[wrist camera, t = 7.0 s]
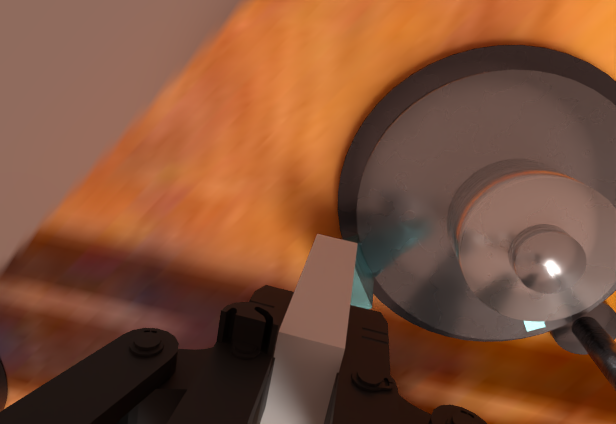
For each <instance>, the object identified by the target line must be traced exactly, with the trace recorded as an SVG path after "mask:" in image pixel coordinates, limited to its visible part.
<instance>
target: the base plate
mask: <svg viewBox="0 0 616 424" xmlns="http://www.w3.org/2000/svg"><path fill="white" fill-rule="evenodd" d="M503 70H534V71H540V72H546V73H551V74H556V75H559V76H562V77H566V78H569V79H572V80H575V81H577V82H579V83H581V84H583V85H585V86H587V87H589V88H592V89H594V90H595V91H597V92H598V93H599V94H601V95H602V96H604V97H605V98H607V99H608V100H610V101H611V102H612V103H613V104H614V105H615V106H616V81H615V80H613V79H612V78H611V77H610V76H609V75H608V74H606V73H604V72H603V71H601V70H599V69H598V68H596V67H594V66H593V65H591V64H590V63H588V62H585V61H583V60H581V59H578V58H576V57H574V56H571V55H569V54H566V53H562V52H558V51H555V50H551V49H547V48H542V47H533V46H525V45H498V46H491V47H484V48H477V49H472V50H469V51H465V52H462V53H458V54H454V55H451V56H449V57H446V58H444V59H442V60H439V61H437V62H434V63H432V64H430V65H428V66H426V67H424V68H423V69H421V70H419V71H417V72H416V73H414V74H412V75H410V76H409V77H408V78H406V79H405V80H404V81H403V82H401V83H400V84H399V85H397V86H396V87H395V88H393V89H392V90H391V91H390V92H389V93H388V94H387V95H386V96H385V97H384V98H383V99H382V100H381V101H380V102H379V103H378V104H377V105H376V106H375V108H374V109H373V110H372V111H371V113H370V114H369V115H368V116H367V118H366V119H365V121H364V122H363V124H362V126H361V127H360V129H359V130H358V132H357V134H356V135H355V137H354V139H353V142H352V144H351V146H350V148H349V151H348V153H347V155H346V158H345V162H344V165H343V169H342V172H341V177H340V183H339V190H338V217H339V225H340V231H341V235H342V238H343V239H345V238H348V237H351V236H354V235H356V234H358V230H357V200H358V193H359V189H360V184H361V179H362V175H363V172H364V169H365V166H366V164H367V161H368V158H369V156H370V154H371V152H372V150H373V148H374V146H375V144H376V143H377V141H378V140H379V138H380V137H381V135H382V134H383V132H384V131H385V130H386V128H387V127H388V126H389V125H390V124H391V123H392V121H393V120H394V119H395V118H396V117H397V116H398V115H399V114H400V113H401V112H402V111H403V110H405V109H406V108H407V107H408V106H409V105H410V104H412V103H413V102H414V101H416V100H417V99H419V98H420V97H422V96H423V95H425V94H426V93H428V92H429V91H431V90H433V89H435V88H437V87H439V86H441V85H443V84H445V83H448V82H450V81H453V80H456V79H459V78H462V77H465V76H469V75H474V74H478V73H483V72H492V71H503ZM615 291H616V290H615ZM615 291H614V292H615ZM614 292H613V293H614ZM613 293H612V294H613ZM373 294H374V295H375V296H376V297H377V298H378V299H379V300H380V301H381V302H382V303H383V304H385V305H386V306H387V307H388V308H390V309H391V310H392V311H393V312H395V313H396V314H398V315H399V316H401V317H403V318H404V319H406V320H408V321H409V322H411V323H413V324H415V325H417V326H419V327H422V328H424V329H426V330H428V331H431V332H434V333H438V334H441V335H444V336H448V337H453V338H458V339H463V340H472V341H507V340H515V339H522V338H515V339H504V340H492V339H477V338H469V337H464V336H460V335H456V334H452V333H448V332H445V331H443V330H440V329H437V328H435V327H432V326H430V325H428V324H426V323H424V322H422V321H420V320H419V319H417V318H416V317H414V316H413V315H411V314H410V313H408V312H407V311H405V310H404V309H403V308H402V307H400V306H399V305H398V304H397V303H396V302H395V301H393V300H392V298H391V297H390V296H389V295H388V294H387V293H386V292H385V291H384V290H383V288H382V287H381V286H380V284H379V283H378V281H377V280H376V278H375V277H374V284H373ZM612 294H611V295H612ZM606 299H607V298H606ZM579 318H580V317H579ZM563 326H564V325H563ZM561 327H562V326H561ZM550 331H551V330H550ZM547 332H548V331H547ZM544 333H545V332H544ZM541 334H543V333H541ZM537 335H539V334H537ZM533 336H535V335H533ZM528 337H531V336H528ZM523 338H526V337H523Z"/></svg>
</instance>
